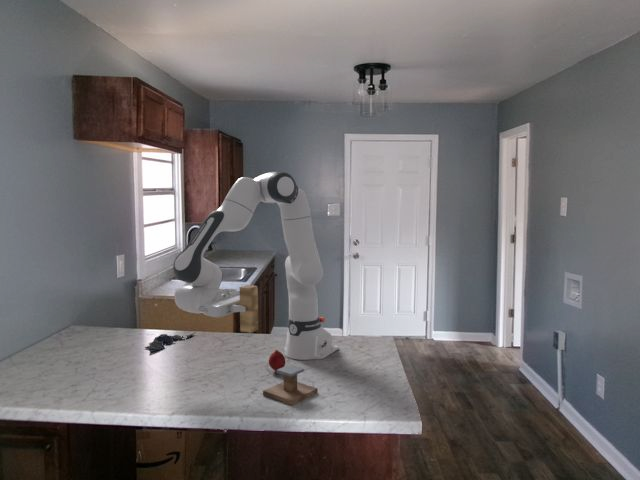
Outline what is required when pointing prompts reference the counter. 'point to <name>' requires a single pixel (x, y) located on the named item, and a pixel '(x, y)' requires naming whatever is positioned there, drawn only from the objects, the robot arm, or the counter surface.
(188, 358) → the counter surface
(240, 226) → the robot arm
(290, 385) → the pedestal
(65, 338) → the counter surface
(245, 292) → the wooden rod
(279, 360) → the onion
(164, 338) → the decorative bat
